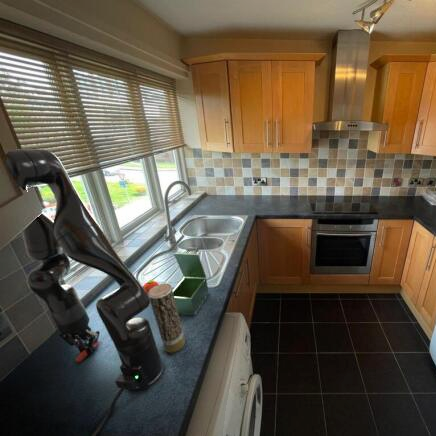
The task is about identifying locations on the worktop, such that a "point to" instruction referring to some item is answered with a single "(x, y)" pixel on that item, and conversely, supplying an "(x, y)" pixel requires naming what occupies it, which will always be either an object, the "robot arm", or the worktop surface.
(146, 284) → the tomato
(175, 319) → the brown textured cylinder
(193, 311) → the box
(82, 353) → the red rounded rod
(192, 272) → the lid
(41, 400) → the worktop surface
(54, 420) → the worktop surface
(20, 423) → the worktop surface
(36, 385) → the worktop surface
